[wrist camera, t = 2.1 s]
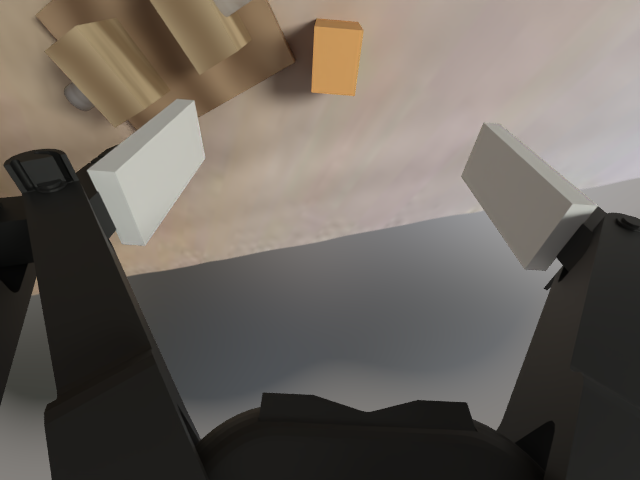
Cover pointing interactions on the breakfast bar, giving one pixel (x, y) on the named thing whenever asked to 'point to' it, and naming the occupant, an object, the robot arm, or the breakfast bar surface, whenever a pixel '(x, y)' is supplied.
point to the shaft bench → (162, 52)
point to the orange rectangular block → (336, 56)
